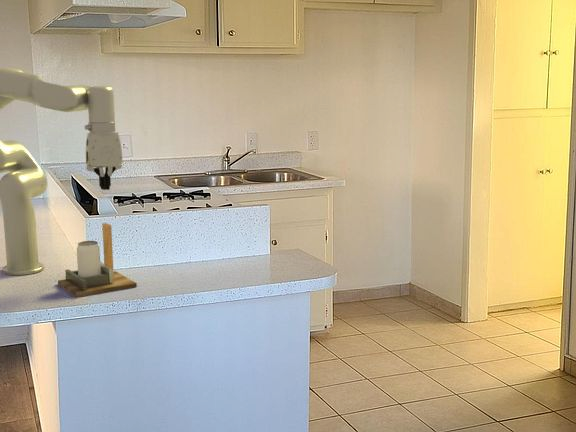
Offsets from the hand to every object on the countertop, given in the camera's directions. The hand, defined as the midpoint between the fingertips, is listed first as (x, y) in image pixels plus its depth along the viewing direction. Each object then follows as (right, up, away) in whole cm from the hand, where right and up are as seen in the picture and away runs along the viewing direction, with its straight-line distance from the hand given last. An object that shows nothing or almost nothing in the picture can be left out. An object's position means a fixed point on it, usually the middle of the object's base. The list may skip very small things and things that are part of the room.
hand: (105, 189), depth 235 cm
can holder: (-3, -28, -7) cm, 29 cm away
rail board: (-2, -29, -6) cm, 29 cm away
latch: (+2, -27, -4) cm, 27 cm away
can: (-3, -28, -6) cm, 29 cm away
